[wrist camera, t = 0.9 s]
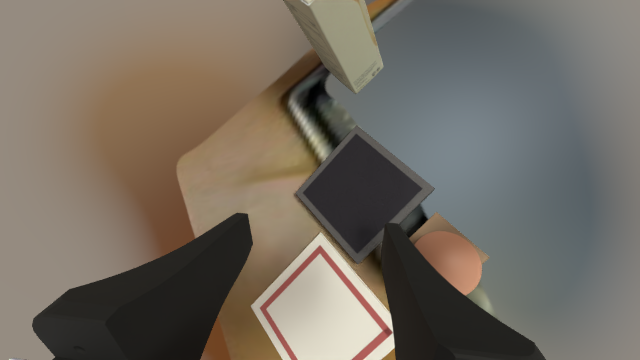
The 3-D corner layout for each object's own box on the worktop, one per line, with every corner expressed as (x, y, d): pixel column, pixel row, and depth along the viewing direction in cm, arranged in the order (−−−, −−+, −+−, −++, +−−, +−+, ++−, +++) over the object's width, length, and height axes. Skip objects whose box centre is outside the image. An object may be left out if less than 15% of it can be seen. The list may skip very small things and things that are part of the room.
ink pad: (434, 189, 22) (434, 187, 21) (360, 263, 24) (357, 264, 23) (358, 128, 26) (356, 124, 25) (299, 194, 28) (294, 193, 27)
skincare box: (385, 67, 27) (357, -46, 16) (356, 96, 27) (309, 8, 16) (348, 39, 29) (303, -76, 18) (323, 66, 30) (263, -28, 19)
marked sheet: (408, 333, 21) (408, 335, 21) (318, 414, 23) (316, 417, 23) (321, 232, 26) (320, 232, 26) (252, 305, 28) (250, 306, 28)
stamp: (485, 255, 20) (513, 268, 14) (441, 295, 21) (448, 325, 15) (435, 212, 22) (440, 207, 16) (397, 250, 23) (386, 259, 17)
